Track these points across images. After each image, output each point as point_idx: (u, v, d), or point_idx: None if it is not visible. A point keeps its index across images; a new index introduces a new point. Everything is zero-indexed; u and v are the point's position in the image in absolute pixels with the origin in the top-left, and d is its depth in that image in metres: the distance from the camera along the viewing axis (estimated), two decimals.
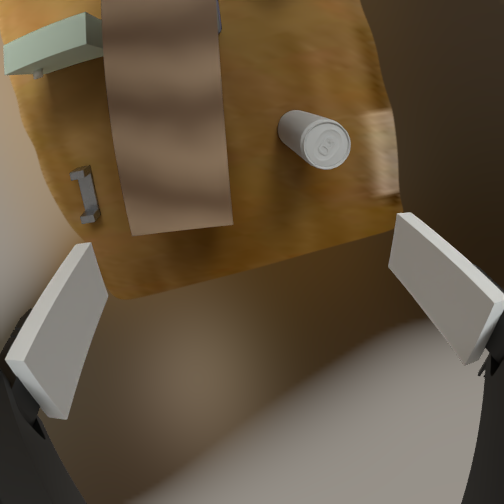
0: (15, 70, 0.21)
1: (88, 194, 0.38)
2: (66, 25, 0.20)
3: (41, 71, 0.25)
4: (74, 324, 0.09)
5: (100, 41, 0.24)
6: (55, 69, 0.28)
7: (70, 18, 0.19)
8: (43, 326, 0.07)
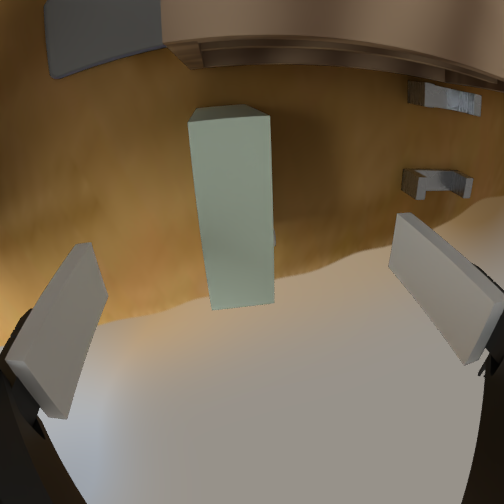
0: None
1: (435, 180, 0.26)
2: (210, 165, 0.14)
3: None
4: (74, 324, 0.09)
5: (241, 110, 0.16)
6: None
7: (195, 157, 0.13)
8: (43, 326, 0.07)
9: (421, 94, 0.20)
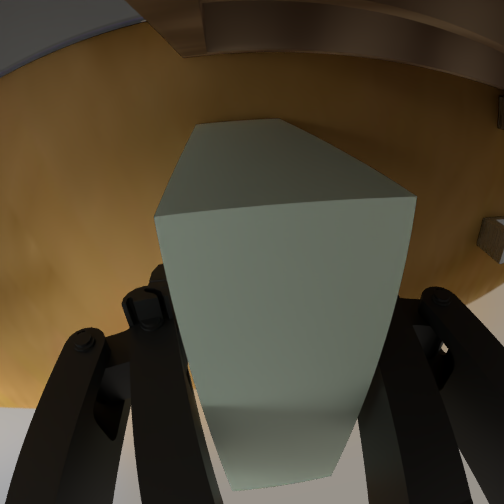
0: None
1: None
2: (234, 335, 0.05)
3: None
4: None
5: (293, 140, 0.08)
6: None
7: (188, 317, 0.05)
8: None
9: None
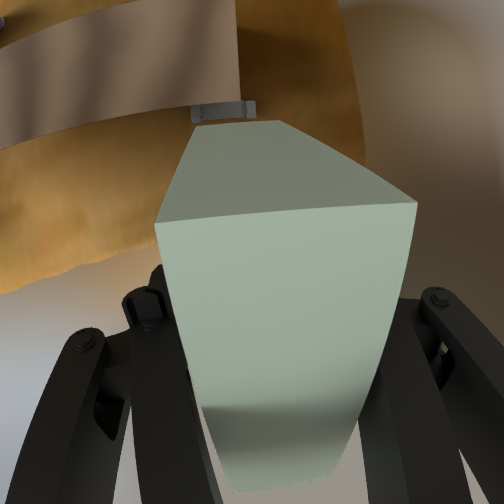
0: None
1: None
2: (234, 340, 0.05)
3: None
4: None
5: (294, 144, 0.08)
6: None
7: (188, 322, 0.05)
8: None
9: None
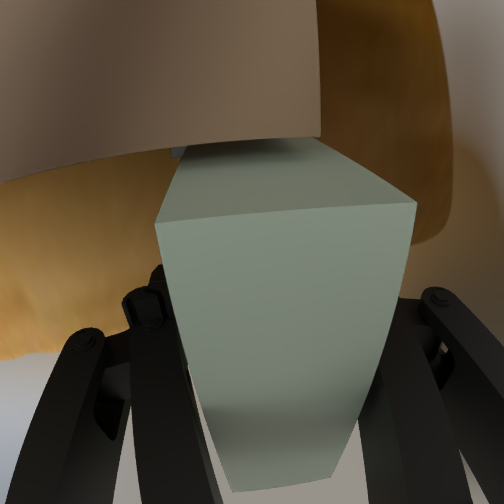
0: None
1: None
2: (234, 340, 0.05)
3: None
4: None
5: (294, 144, 0.08)
6: None
7: (188, 322, 0.05)
8: None
9: None
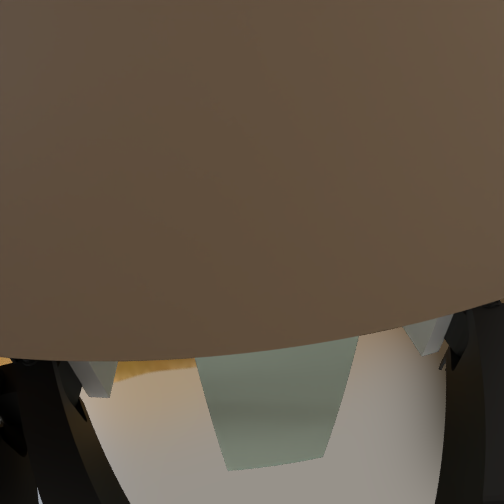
0: None
1: None
2: None
3: None
4: None
5: None
6: None
7: None
8: None
9: None
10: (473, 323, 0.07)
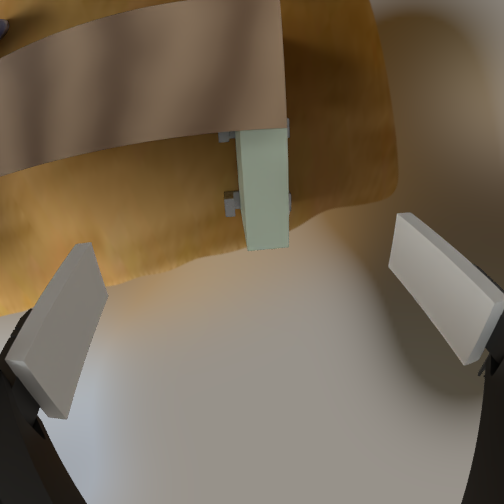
0: None
1: None
2: (252, 156, 0.23)
3: None
4: (74, 324, 0.09)
5: None
6: None
7: (243, 151, 0.23)
8: (43, 326, 0.07)
9: (218, 132, 0.30)
10: None
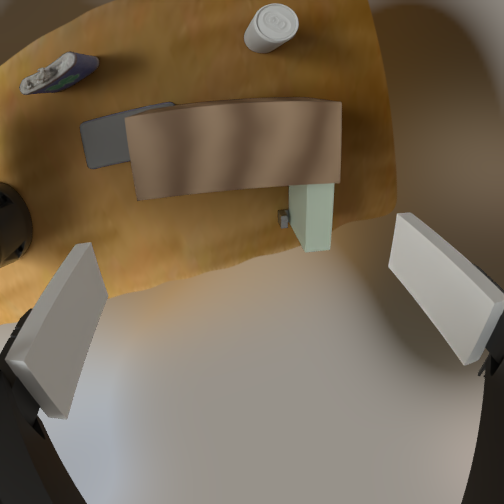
0: None
1: None
2: (313, 194, 0.38)
3: None
4: (74, 324, 0.09)
5: None
6: None
7: (308, 191, 0.38)
8: (43, 326, 0.07)
9: None
10: None
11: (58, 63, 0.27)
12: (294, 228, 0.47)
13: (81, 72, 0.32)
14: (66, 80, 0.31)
